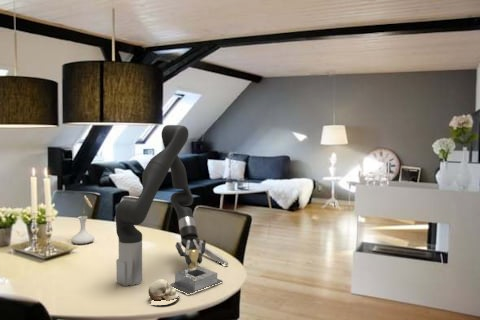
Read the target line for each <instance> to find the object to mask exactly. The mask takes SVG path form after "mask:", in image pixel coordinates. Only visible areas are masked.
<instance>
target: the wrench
mask: <svg viewBox="0 0 480 320" xmlns="http://www.w3.org/2000/svg"><path fill="white" fill-rule="evenodd" d="M199 240H201V239H200V238H199ZM198 246H199V249H200V251H201V249H202V246H201V245H200V243H199V244H198ZM203 255H206V256H207V257H209V258H210V259H212V261H214V262H216V261H218V262H220V263H221V264H224V263H225V265H228V266H229V261H228V260H227V259H226V258H224V257H223V256H221V255H220V254H218V253H216V252H215V251H213V250H212V249H210V248H208V247H206V246H205V252H204V254H203ZM218 262H217V263H218Z"/></svg>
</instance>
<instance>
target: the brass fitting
mask: <svg viewBox="0 0 480 320" xmlns="http://www.w3.org/2000/svg"><path fill="white" fill-rule="evenodd" d="M188 255H189V259H190V265H188V264H187V269H188V268H192V267H195V266H199V262H198V260H199V249H197V248H191V249H189V250H188Z"/></svg>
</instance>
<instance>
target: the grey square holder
mask: <svg viewBox="0 0 480 320" xmlns="http://www.w3.org/2000/svg"><path fill="white" fill-rule="evenodd" d="M220 282H222V283H223V280H222V279H219V278H218V272H216V271H214V270H212V269H211V270H210V269H208V268H205V267H202V266H199V265H198V266H195V267H192V268H188V267H187V268H186V269H182V270H180V271H175V273H174V282H172V283H170V284H171V286H172V287H174V288H176V289H178V290H180V291H183V292H185V293H187V294H190V293H193V292H195V291H198V290H201V289H204V288H206V287H209V286H212V285H215V284H218V283H220Z"/></svg>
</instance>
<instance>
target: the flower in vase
mask: <svg viewBox="0 0 480 320" xmlns="http://www.w3.org/2000/svg"><path fill="white" fill-rule="evenodd" d="M84 200H85V203H84V205H83V208H82V212H81V213H80V216H78V217H77V219H78V220H79V223H80V229H79V232H78V233H76V234H75V235H74V236H73V237H72V238H71V242H72V243H74V244H81V245H82V244H89V243H92V242H93V241H94V240H95V237H94V235H92V234H91V233H89V232H88V231H87V230H86V221H87V219H88V216H87V215H84V214H86V213H87V212H86V209H85V207H86V204H87V205H88V206H89V207H90V208H91V209H92V208H93V205H92V203H91V201H90V200H89V198H88V197H87V196H86V195H84Z"/></svg>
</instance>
